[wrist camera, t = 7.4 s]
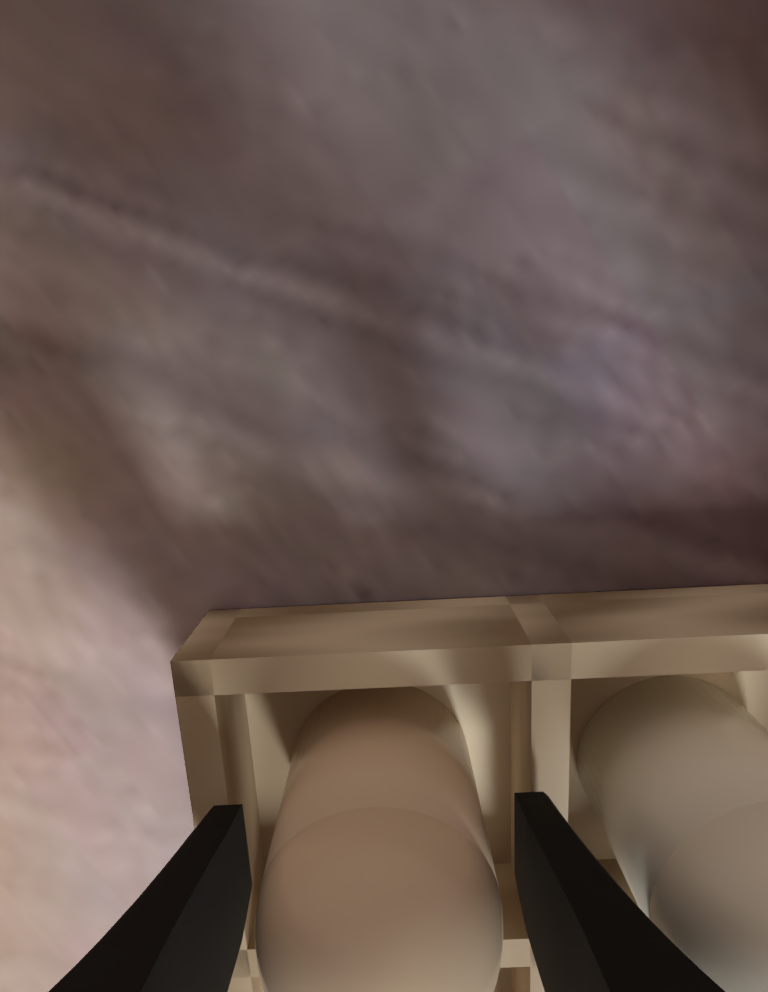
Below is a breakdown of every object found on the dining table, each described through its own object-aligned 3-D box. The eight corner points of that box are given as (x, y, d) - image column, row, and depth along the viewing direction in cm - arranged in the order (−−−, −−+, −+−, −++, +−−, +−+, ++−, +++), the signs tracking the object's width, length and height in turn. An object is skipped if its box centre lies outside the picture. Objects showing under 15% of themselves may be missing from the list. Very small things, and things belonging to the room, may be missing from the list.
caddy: (839, 580, 13) (940, 625, 11) (777, 1062, 17) (845, 1180, 14) (209, 610, 14) (169, 661, 11) (269, 1080, 17) (249, 1199, 14)
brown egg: (466, 677, 13) (533, 926, 7) (470, 830, 14) (531, 1163, 8) (286, 685, 13) (206, 939, 7) (301, 837, 14) (240, 1173, 8)
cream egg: (757, 668, 13) (1066, 912, 7) (750, 822, 14) (1018, 1155, 8) (573, 683, 13) (725, 936, 7) (579, 835, 14) (716, 1172, 8)
